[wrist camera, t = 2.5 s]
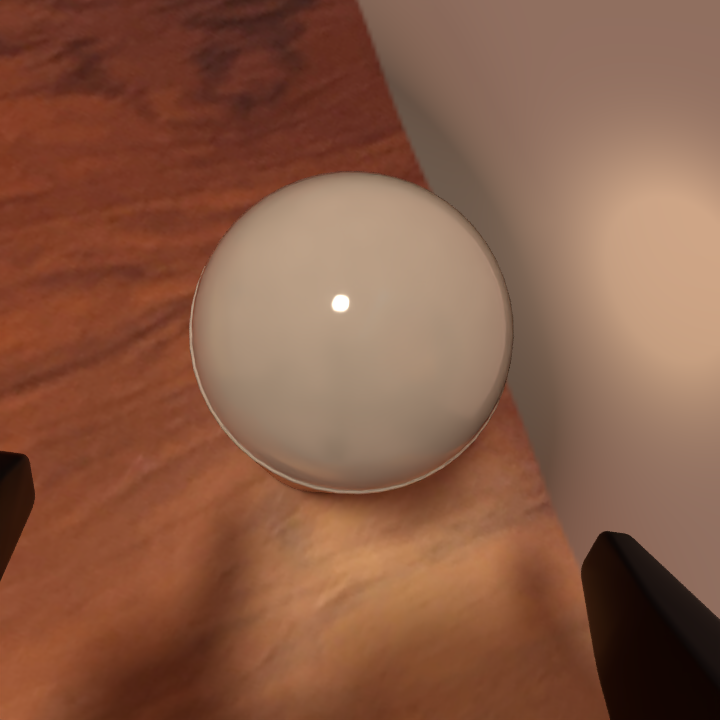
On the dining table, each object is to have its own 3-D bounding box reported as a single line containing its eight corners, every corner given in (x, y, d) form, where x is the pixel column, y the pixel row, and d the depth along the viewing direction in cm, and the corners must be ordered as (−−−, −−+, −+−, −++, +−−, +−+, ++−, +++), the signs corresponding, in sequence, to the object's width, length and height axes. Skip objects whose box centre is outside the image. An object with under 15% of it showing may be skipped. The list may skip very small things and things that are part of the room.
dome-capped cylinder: (393, 490, 19) (597, 488, 6) (243, 494, 18) (146, 501, 6) (387, 347, 20) (553, 105, 7) (246, 347, 19) (167, 84, 7)
